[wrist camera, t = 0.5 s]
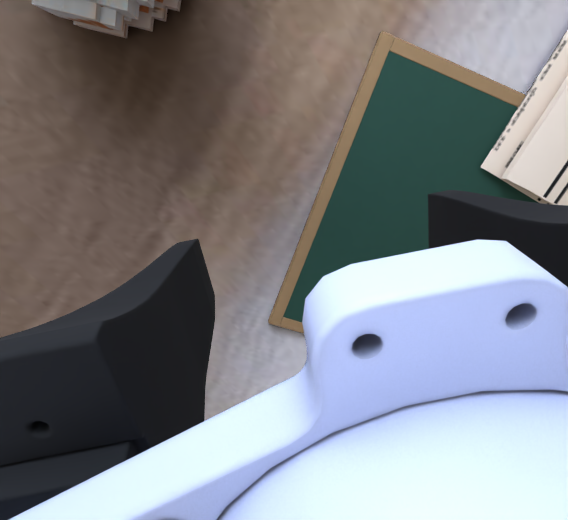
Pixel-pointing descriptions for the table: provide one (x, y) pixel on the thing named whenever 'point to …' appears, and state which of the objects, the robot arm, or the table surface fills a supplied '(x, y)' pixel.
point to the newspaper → (538, 137)
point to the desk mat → (397, 164)
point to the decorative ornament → (110, 13)
